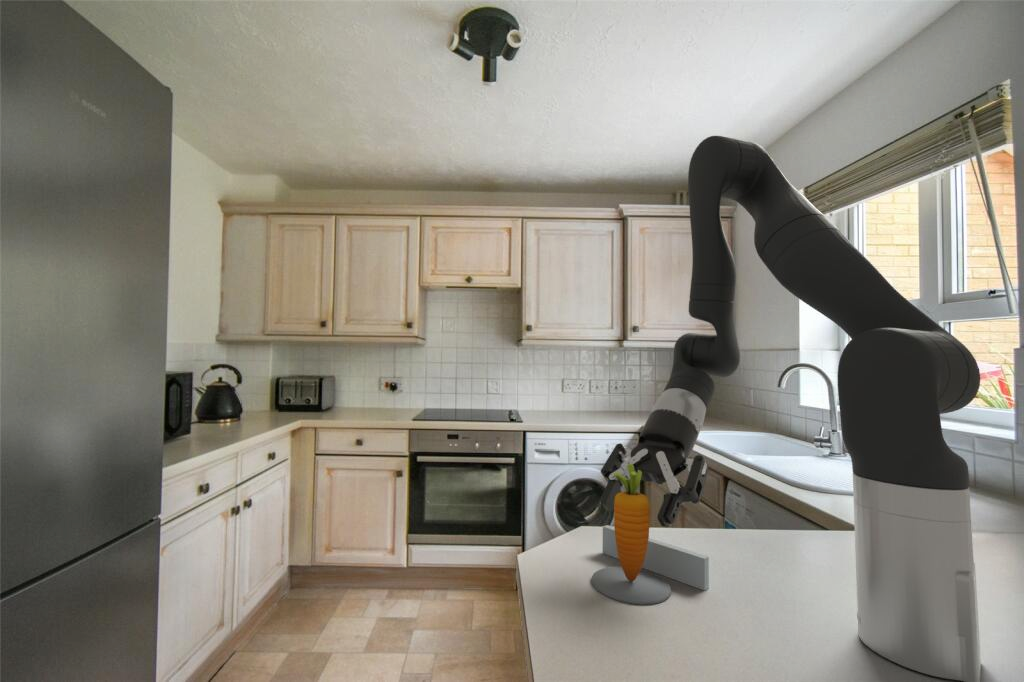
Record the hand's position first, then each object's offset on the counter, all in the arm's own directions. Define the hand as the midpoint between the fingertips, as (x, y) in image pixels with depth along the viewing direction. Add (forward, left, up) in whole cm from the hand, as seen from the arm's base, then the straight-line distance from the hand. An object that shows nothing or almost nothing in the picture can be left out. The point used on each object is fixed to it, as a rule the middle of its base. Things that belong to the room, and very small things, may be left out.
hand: (632, 515), depth 59 cm
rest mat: (0, 0, -9) cm, 9 cm away
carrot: (0, 0, -9) cm, 9 cm away
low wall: (+1, -7, -9) cm, 11 cm away
